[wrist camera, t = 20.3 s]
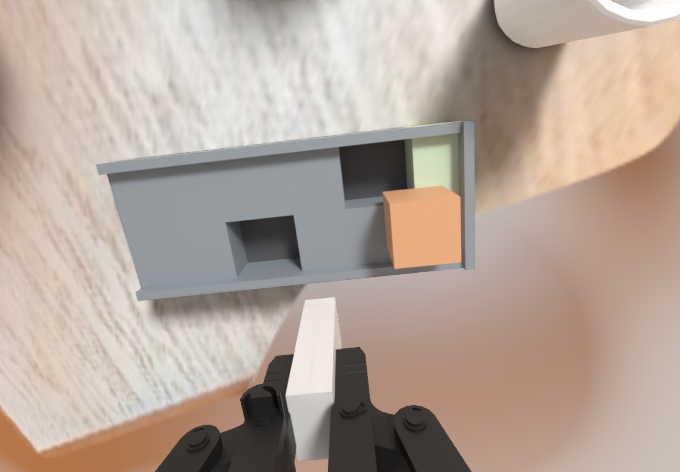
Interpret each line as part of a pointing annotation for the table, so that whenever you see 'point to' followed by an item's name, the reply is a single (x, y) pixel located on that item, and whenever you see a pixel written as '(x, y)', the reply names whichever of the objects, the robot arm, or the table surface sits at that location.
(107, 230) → the table surface
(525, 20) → the cup
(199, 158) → the box
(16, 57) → the table surface
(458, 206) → the block
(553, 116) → the table surface
